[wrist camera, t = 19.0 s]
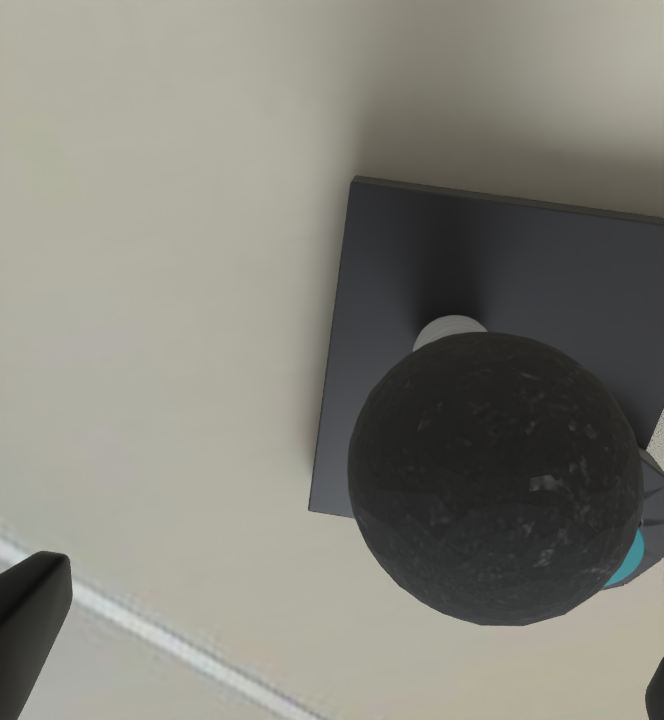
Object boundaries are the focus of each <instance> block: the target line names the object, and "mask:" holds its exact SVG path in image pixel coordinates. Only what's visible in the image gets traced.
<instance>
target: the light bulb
mask: <svg viewBox="0 0 664 720" xmlns="http://www.w3.org/2000/svg"><path fill="white" fill-rule="evenodd" d="M347 475H348V493H349V497H350V502H351V506H352V511H353V514H354V517H355V519H356V522H357V524H358V526H359V529H360V531H361V533H362V535H363V538H364V540H365V542H366V544H367V546H368V548H369V549H370V551H371V552H372V554H373V555H374V557H375V558H376V560H377V561H378V563H379V564H380V565H381V567H382V568H383V569H384V570H385V571H386V572H387V573H388V574H389V575H390V576H391V578H392V579H393V580H394V581H395V582H396V583H397V584H398V585H399V586H400V587H401V588H403V589H404V590H406V591H407V592H409V593H410V594H411V595H413V596H414V597H415V598H417V599H418V600H419V601H421V602H422V603H424V604H426V605H428V606H429V607H431V608H433V609H435V610H437V611H439V612H441V613H443V614H445V615H449V616H452V617H454V618H457V619H460V620H464V621H468V622H471V623H475V624H478V625H490V626H525V625H528V624H532V623H536V622H539V621H543V620H546V619H550V618H554V617H557V616H561V615H564V614H566V613H567V612H569V611H570V610H572V609H573V608H575V607H576V606H578V605H579V604H581V603H582V602H584V601H586V600H587V599H589V598H590V597H592V596H593V595H595V594H596V593H598V592H599V591H600V589H601V588H602V587H603V586H604V585H605V584H606V583H607V582H608V581H609V580H610V579H611V577H612V576H613V575H614V574H615V572H616V571H617V570H618V569H619V568H620V567H621V565H622V564H623V562H624V560H625V558H626V556H627V554H628V552H629V550H630V548H631V546H632V544H633V543H634V540H635V536H636V533H637V530H638V526H639V523H640V520H641V516H642V510H643V500H644V479H643V469H642V463H641V457H640V452H639V447H638V445H637V442H636V438H635V434H634V432H633V430H632V428H631V426H630V424H629V423H628V421H627V419H626V417H625V415H624V413H623V412H622V410H621V408H620V406H619V404H618V402H617V401H616V399H615V397H614V396H613V395H612V394H611V393H610V392H609V390H608V389H607V388H606V387H605V386H604V384H603V383H602V382H601V381H600V380H599V379H598V378H597V377H595V376H594V375H593V374H592V373H590V372H589V371H588V370H587V369H586V368H584V367H583V366H582V365H581V364H579V363H578V362H577V361H575V360H574V359H572V358H571V357H569V356H568V355H567V354H565V353H563V352H561V351H560V350H558V349H557V348H555V347H552V346H549V345H547V344H545V343H542V342H539V341H537V340H534V339H531V338H527V337H522V336H516V335H512V334H506V333H499V332H488V331H487V330H486V329H485V327H483V326H482V325H481V324H480V323H478V322H477V321H476V320H474V319H471V318H469V317H466V316H460V315H449V316H445V317H441V318H438V319H436V320H434V321H432V322H431V323H429V324H428V325H427V326H426V327H425V328H424V329H423V330H422V331H421V333H420V334H419V336H418V337H417V340H416V342H415V345H414V347H413V352H412V353H410V354H408V355H407V356H406V357H404V358H403V359H402V360H401V361H400V362H398V363H397V364H396V365H395V366H393V367H392V368H391V369H390V370H389V371H388V372H387V373H386V375H385V376H384V377H383V378H382V379H381V380H380V381H379V382H378V384H377V385H376V386H375V387H374V388H373V389H372V391H371V392H370V393H369V395H368V397H367V399H366V401H365V403H364V405H363V407H362V409H361V411H360V414H359V416H358V418H357V421H356V424H355V427H354V430H353V433H352V436H351V439H350V443H349V449H348V465H347Z"/></svg>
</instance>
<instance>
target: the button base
mask: <svg viewBox="0 0 664 720" xmlns="http://www.w3.org/2000/svg"><path fill="white" fill-rule="evenodd" d="M449 315H460V316H466V317H469V318H471V319H474V320H476V321H477V322H478V323H480V324H481V325H482V326H483V327H485V329H486V330H487V331H488V332H499V333H506V334H512V335H516V336H522V337H527V338H531V339H534V340H537V341H539V342H542V343H545V344H547V345H549V346H552V347H555V348H557V349H558V350H560V351H561V352H563V353H565V354H567V355H568V356H569V357H571V358H572V359H574V360H575V361H577V362H578V363H579V364H581V365H582V366H583V367H584V368H586V369H587V370H588V371H589V372H590V373H592V374H593V375H594V376H595V377H597V378H598V379H599V380H600V381H601V382H602V383H603V384H604V386H605V387H606V388H607V389H608V390H609V392H610V393H611V394H612V395H613V396H614V397H615V399H616V401H617V402H618V404H619V406H620V408H621V410H622V412H623V413H624V415H625V417H626V419H627V421H628V423H629V424H630V426H631V428H632V430H633V432H634V434H635V438H636V442H637V445H638V447H639V452H640V457H641V463H642V469H643V479H644V500H643V510H642V516H641V520H640V523H639V526H638V527H639V529H640V531H641V532H642V535H643V537H644V542H645V549H644V555H643V557H642V560H641V562H640V563H639V565H638V566H637V568H636V569H635V570H634V571H633V572H632V573H631V574H629V575H628V576H627V577H625V578H624V579H622V580H620V581H618V582H616V583H613V584H611V585H607V586H603V587H602V588H601V589H600V591H601V590H606V589H610V588H615V587H619V586H623V585H624V584H628V583H629V582H630V581H632V580H633V579H635V578H636V577H637V576H639V575H640V574H642V573H643V572H645V571H646V570H647V569H649V568H650V567H652V566H653V565H654V564H656V563H657V562H659V561H660V560H661V559H662V558H663V557H664V471H663V470H662V469H661V467H660V466H659V465H658V464H657V462H656V461H655V460H654V458H653V457H652V456H651V455H650V454H649V453H648V452H647V451H646V449H647V447H648V444H649V442H650V440H651V437H652V435H653V432H654V430H655V428H656V425H657V423H658V420H659V418H660V415H661V413H662V411H663V408H664V218H660V217H652V216H645V215H638V214H631V213H623V212H616V211H609V210H602V209H594V208H587V207H580V206H573V205H565V204H558V203H551V202H544V201H536V200H529V199H522V198H515V197H507V196H500V195H493V194H486V193H478V192H471V191H464V190H457V189H449V188H442V187H435V186H428V185H420V184H413V183H406V182H399V181H391V180H384V179H377V178H370V177H362V176H355V177H354V178H353V180H352V181H351V183H350V190H349V198H348V206H347V213H346V221H345V229H344V236H343V244H342V252H341V259H340V267H339V275H338V283H337V290H336V298H335V306H334V313H333V321H332V329H331V336H330V344H329V352H328V360H327V367H326V375H325V383H324V390H323V398H322V406H321V413H320V421H319V429H318V437H317V444H316V452H315V460H314V467H313V475H312V483H311V490H310V498H309V506H308V510H309V511H313V512H319V513H325V514H331V515H337V516H344V517H350V518H355V517H354V514H353V511H352V506H351V502H350V497H349V493H348V475H347V465H348V449H349V443H350V439H351V436H352V433H353V430H354V427H355V424H356V421H357V418H358V416H359V414H360V411H361V409H362V407H363V405H364V403H365V401H366V399H367V397H368V395H369V393H370V392H371V391H372V389H373V388H374V387H375V386H376V385H377V384H378V382H379V381H380V380H381V379H382V378H383V377H384V376H385V375H386V373H387V372H388V371H389V370H390V369H391V368H392V367H393V366H395V365H396V364H397V363H398V362H400V361H401V360H402V359H403V358H404V357H406V356H407V355H408V354H410V353H412V352H413V347H414V345H415V342H416V340H417V337H418V336H419V334H420V333H421V331H422V330H423V329H424V328H425V327H426V326H427V325H428V324H429V323H431V322H432V321H434V320H436V319H438V318H441V317H445V316H449Z"/></svg>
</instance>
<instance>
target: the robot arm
mask: <svg viewBox="0 0 664 720" xmlns="http://www.w3.org/2000/svg"><path fill="white" fill-rule="evenodd" d="M72 596H73V592H72V579H71V567H70V560H69V558H68V556H67V555H65V554H61V553H55V552H49V551H40V552H37V553H35V554H33V555H32V556H30V557H28V558H27V559H25V560H23V561H22V562H20V563H18V564H17V565H15V566H13V567H11V568H10V569H8V570H6V571H5V572H3V573H1V574H0V720H17V719H18V717H19V715H20V713H21V711H22V709H23V707H24V705H25V703H26V701H27V699H28V697H29V695H30V693H31V691H32V689H33V687H34V684H35V682H36V680H37V678H38V676H39V674H40V672H41V669H42V667H43V665H44V663H45V661H46V659H47V656H48V654H49V652H50V650H51V648H52V646H53V644H54V641H55V639H56V637H57V635H58V633H59V631H60V629H61V626H62V624H63V622H64V620H65V618H66V616H67V614H68V611H69V609H70V606H71V602H72ZM645 702H646V709H647V713H648V717H649V720H664V657H663V659H662V660H661V662H660V664H659V666H658V668H657V670H656V672H655V674H654V676H653V678H652V679H651V681H650V683H649V685H648V687H647V690H646V695H645Z"/></svg>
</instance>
